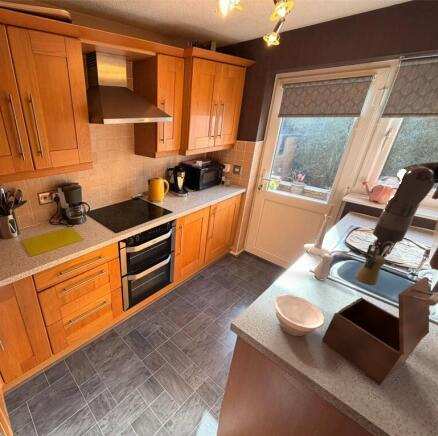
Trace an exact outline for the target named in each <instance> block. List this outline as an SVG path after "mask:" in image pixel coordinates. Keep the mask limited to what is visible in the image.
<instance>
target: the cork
mask: <svg viewBox="0 0 438 436" xmlns="http://www.w3.org/2000/svg"><path fill="white" fill-rule="evenodd" d="M372 257H373V255H372ZM366 261H367V258H365V261H364V263H363V264H362V266H361V267H360V269H359V270H358V272H357V273H356V274H355V279H356V280H357V281H358V282H360V283H362V284H365V285H368V286H375V285H377V282H378V278H379V274H380V270H381V267H382V266H384V265H385V264H386V257H385V258H384V257H383V256H380V257H379V258H378V260H377V261H376V263H375V265H374V267H373V269H371V270H370V269H367V268H365V267H364V266H365V263H366Z"/></svg>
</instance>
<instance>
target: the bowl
mask: <svg viewBox="0 0 438 436" xmlns="http://www.w3.org/2000/svg"><path fill="white" fill-rule="evenodd" d="M273 305H274V309H275V316H276V318H277V320H278V322H279V325H280V327H281V329H282V330H283V331H285V332H286V333H287V334H290V335H291V336H293V337H294V336H295V337H302V336H304V335H308V334H311V333H313V332H314V331H315V330H317V329H318V328H319V329H320V328H321V327H322V326H323V325H325V317H324V314H323V312H322V311H321V309H319V308H318V306H317V305H315V304H313V303H312V302H311V301H309V300H307V299H305V298H303V297H300V296H298V295H293V294H281V295H278V296H276V297H275V299H274V300H273Z"/></svg>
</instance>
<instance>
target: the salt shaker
mask: <svg viewBox="0 0 438 436" xmlns="http://www.w3.org/2000/svg"><path fill="white" fill-rule="evenodd" d="M333 260H334V257H333V256H332V255H331V254H323V255H322V256H321V260H320V262H319V263H318V265H317V266H316V267H315V268H314V271H313V274H314V277H315V276H316V277H317V278H319V279H318V280H320V279H324V280H326V279H327V278H328V277H329V275H330V266H331V262H333ZM316 277H315V278H316ZM317 278H316V279H317Z"/></svg>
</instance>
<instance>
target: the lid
mask: <svg viewBox="0 0 438 436" xmlns="http://www.w3.org/2000/svg"><path fill="white" fill-rule="evenodd" d="M429 282H430V281H429V277H428V276H424V277H422V278H421V279H419V280H417V281H416V282H415V283H413V284H412V285H410V286H409V287H407V288H405V289H404V290H403V291H401V292H399V293H398V294H397V297H398V300H397V302H398V318H399V340H400V354H402V355H405V354H406V353H407V352H408V351H409V350H410V349H411V348H412V347H413V346H415V345H416V344H417V343H418V342H419V341H420V340H421V339H422V340H423V339H424V338H425V337H426V336H427V335H428V334H429V333H430V306H432V307H434V306H436V305H438V291H436V292H431V291H430V289H429V287H430V286H429V285H430V284H429ZM422 340H421V341H422ZM421 341H420V342H421ZM420 342H419V343H420Z"/></svg>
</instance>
